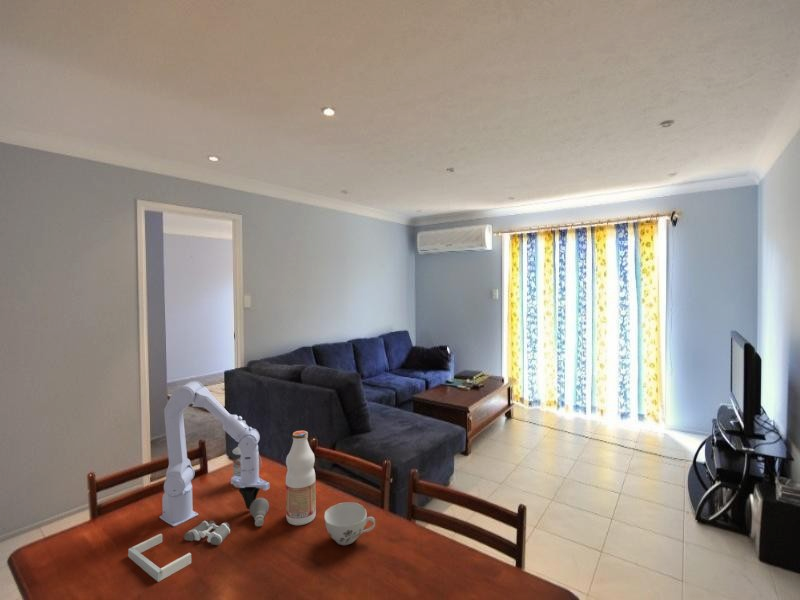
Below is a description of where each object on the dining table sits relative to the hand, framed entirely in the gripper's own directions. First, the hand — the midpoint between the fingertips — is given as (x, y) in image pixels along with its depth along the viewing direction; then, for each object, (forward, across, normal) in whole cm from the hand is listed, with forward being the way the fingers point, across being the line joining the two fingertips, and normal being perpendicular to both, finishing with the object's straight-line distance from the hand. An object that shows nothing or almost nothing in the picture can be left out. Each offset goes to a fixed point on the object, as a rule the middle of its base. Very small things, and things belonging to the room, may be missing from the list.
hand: (250, 507), depth 132 cm
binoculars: (+2, -2, -14) cm, 15 cm away
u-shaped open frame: (+2, -6, -25) cm, 26 cm away
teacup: (+2, +39, -2) cm, 39 cm away
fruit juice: (+2, +18, +3) cm, 18 cm away
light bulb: (0, +9, -7) cm, 11 cm away
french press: (+2, -15, +15) cm, 21 cm away
